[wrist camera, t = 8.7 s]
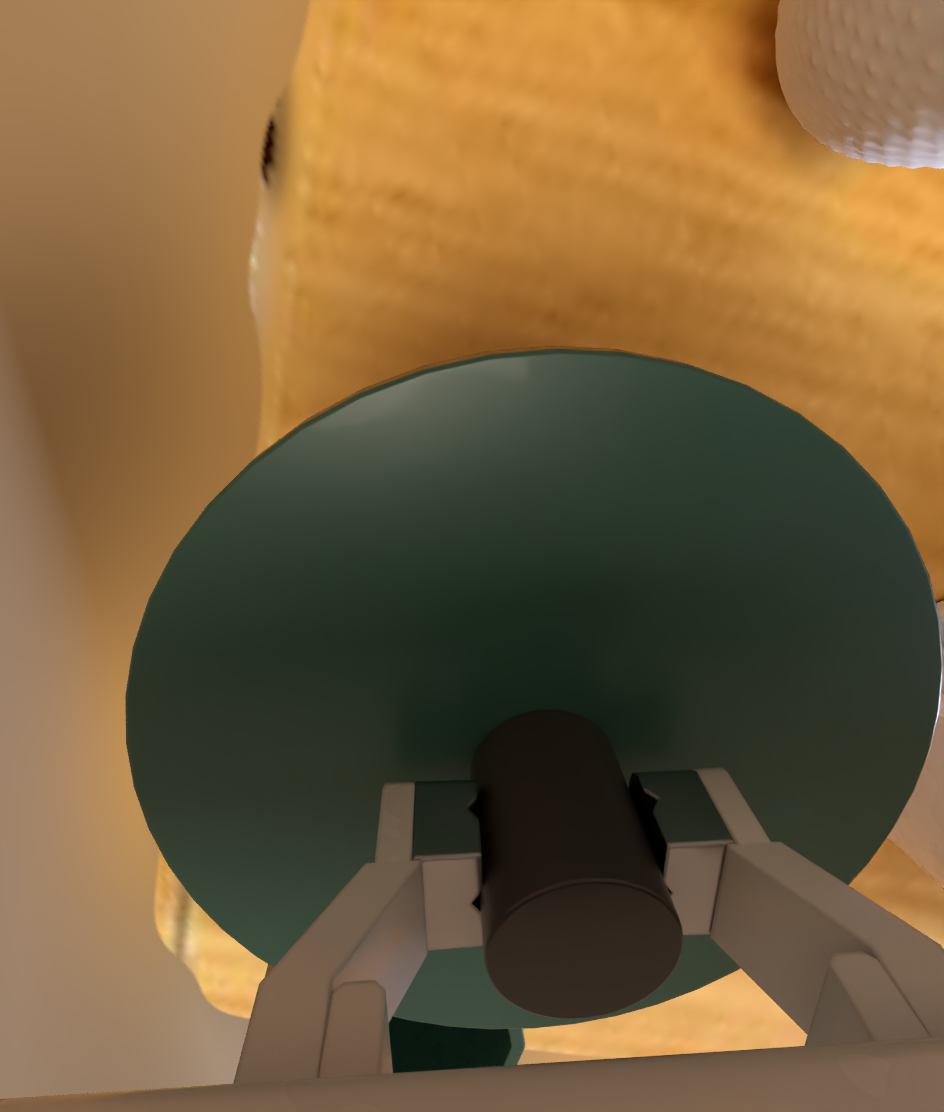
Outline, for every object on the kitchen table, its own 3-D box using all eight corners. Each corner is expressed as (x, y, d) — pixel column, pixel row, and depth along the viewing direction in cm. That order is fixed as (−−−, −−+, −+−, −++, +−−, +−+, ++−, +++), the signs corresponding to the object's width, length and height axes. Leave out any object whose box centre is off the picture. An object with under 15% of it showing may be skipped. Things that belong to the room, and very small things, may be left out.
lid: (454, 120, 9) (472, -49, 4) (1048, 649, 13) (1371, 836, 8) (23, 805, 13) (-192, 1071, 8) (575, 1050, 17) (625, 1320, 12)
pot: (369, 767, 37) (347, 915, 28) (548, 864, 41) (578, 1022, 32) (251, 907, 41) (200, 1076, 32) (424, 984, 44) (421, 1156, 36)
